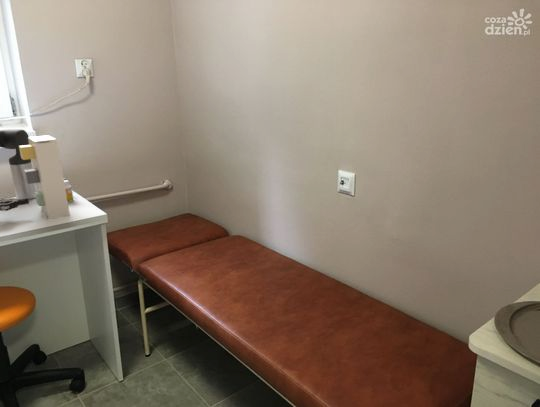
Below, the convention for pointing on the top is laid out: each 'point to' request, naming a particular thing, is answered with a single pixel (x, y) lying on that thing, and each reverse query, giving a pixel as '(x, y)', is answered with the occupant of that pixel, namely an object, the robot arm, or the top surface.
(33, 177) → the charcoal key
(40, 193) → the sage key
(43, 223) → the top surface
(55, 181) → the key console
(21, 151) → the tan square block
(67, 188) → the supplement bottle
